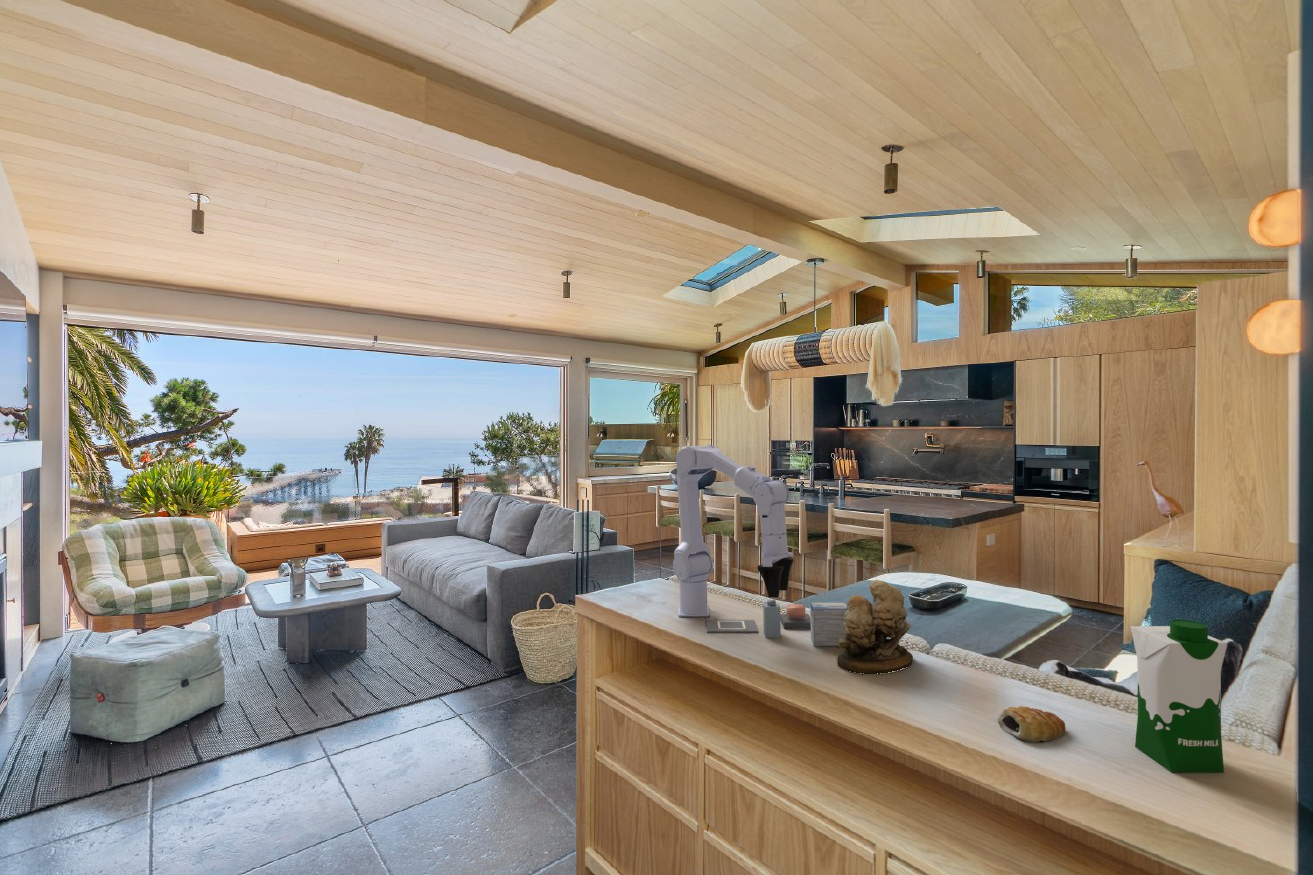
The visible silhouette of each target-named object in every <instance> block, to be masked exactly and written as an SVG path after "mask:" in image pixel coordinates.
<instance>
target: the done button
mask: <svg viewBox="0 0 1313 875" xmlns="http://www.w3.org/2000/svg"><path fill="white" fill-rule="evenodd" d="M786 614H787V616H789V617H792V618H803V617H805V614H806V606H805V605H804V604H801V603H789V604H787V605H786Z"/></svg>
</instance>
